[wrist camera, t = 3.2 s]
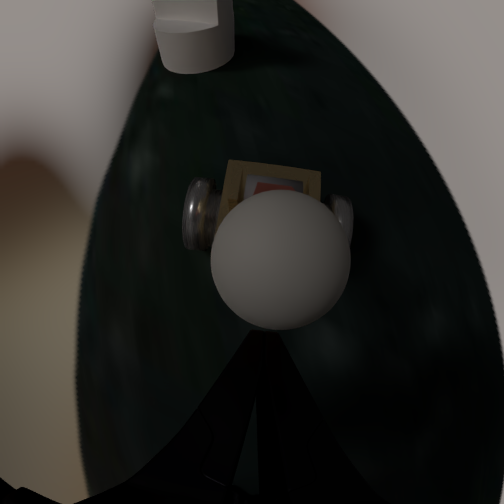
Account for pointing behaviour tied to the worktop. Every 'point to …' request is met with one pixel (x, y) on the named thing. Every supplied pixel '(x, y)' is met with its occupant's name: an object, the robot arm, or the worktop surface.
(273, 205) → the valve lever
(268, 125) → the worktop surface
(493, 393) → the worktop surface
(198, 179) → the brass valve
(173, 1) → the base with upright slab
